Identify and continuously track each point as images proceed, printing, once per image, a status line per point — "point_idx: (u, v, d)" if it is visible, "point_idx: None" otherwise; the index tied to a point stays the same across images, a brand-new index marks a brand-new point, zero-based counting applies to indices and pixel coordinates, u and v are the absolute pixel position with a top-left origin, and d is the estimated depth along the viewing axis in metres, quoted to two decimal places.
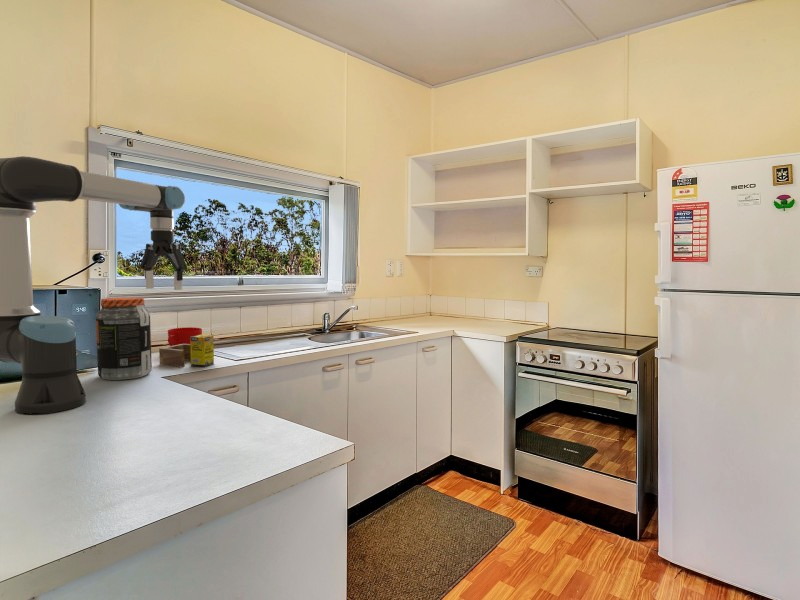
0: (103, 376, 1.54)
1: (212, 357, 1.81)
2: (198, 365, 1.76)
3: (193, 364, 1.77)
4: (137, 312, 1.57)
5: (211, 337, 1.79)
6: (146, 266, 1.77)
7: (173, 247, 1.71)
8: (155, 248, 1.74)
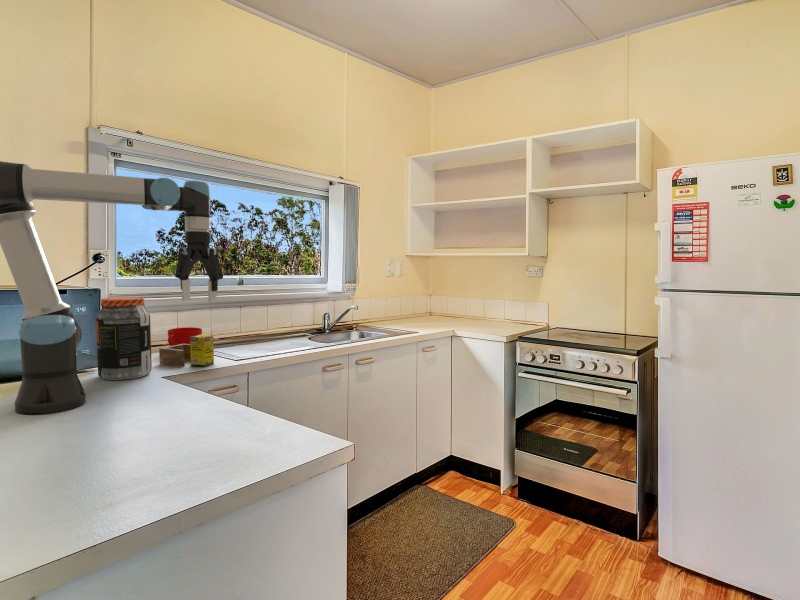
0: (103, 376, 1.54)
1: (212, 357, 1.81)
2: (198, 365, 1.76)
3: (193, 364, 1.77)
4: (137, 312, 1.57)
5: (211, 337, 1.79)
6: (182, 274, 1.56)
7: (211, 252, 1.51)
8: (190, 251, 1.53)
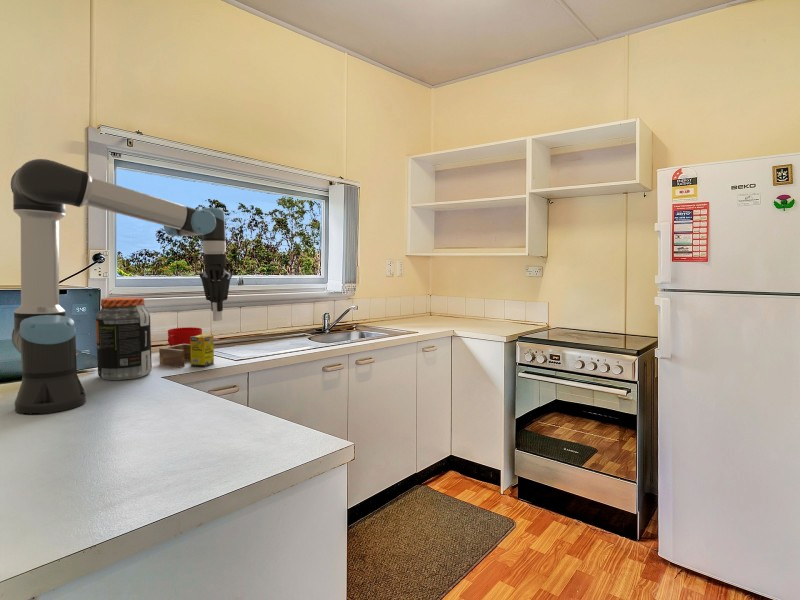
0: (103, 376, 1.54)
1: (212, 357, 1.81)
2: (198, 365, 1.76)
3: (193, 364, 1.77)
4: (137, 312, 1.57)
5: (211, 337, 1.79)
6: (211, 296, 1.70)
7: (225, 277, 1.66)
8: (208, 272, 1.68)
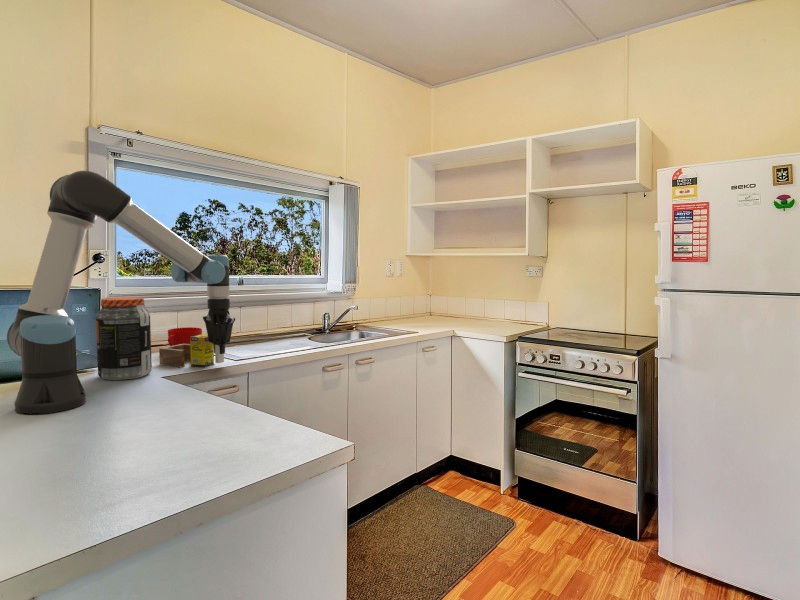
0: (103, 376, 1.54)
1: (212, 357, 1.81)
2: (198, 365, 1.76)
3: (193, 364, 1.77)
4: (137, 312, 1.57)
5: None
6: (214, 339, 1.75)
7: (228, 321, 1.72)
8: (212, 316, 1.74)
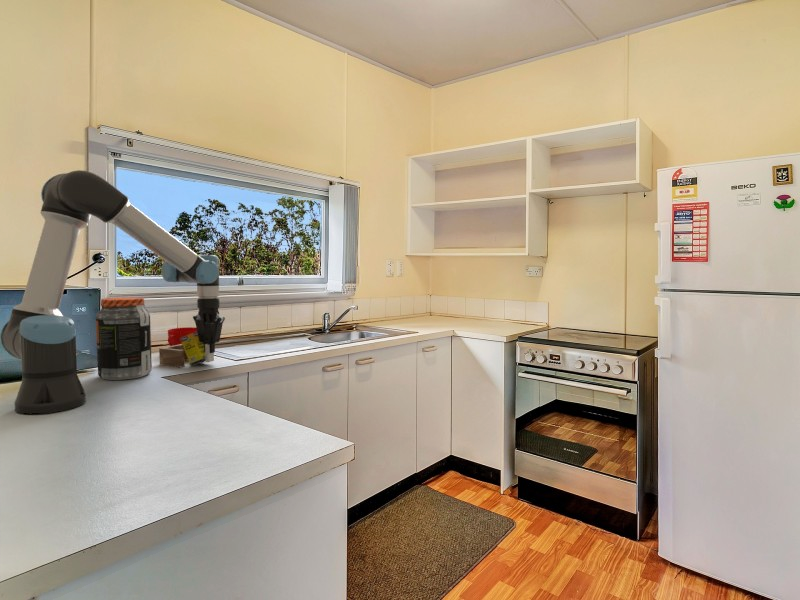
0: (103, 376, 1.54)
1: None
2: (197, 361, 1.76)
3: (192, 363, 1.77)
4: (137, 312, 1.57)
5: None
6: (204, 338, 1.77)
7: (217, 321, 1.74)
8: (202, 315, 1.75)
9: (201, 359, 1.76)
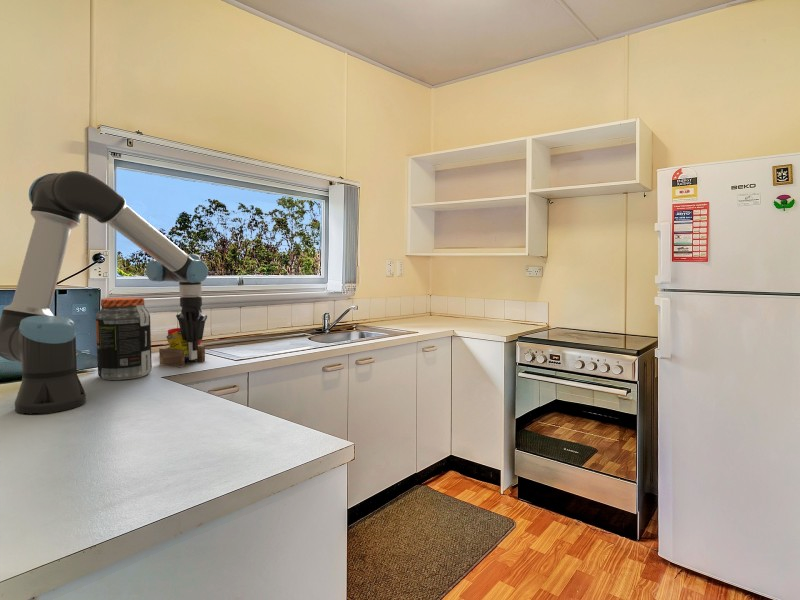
0: (103, 376, 1.54)
1: None
2: None
3: None
4: (137, 312, 1.57)
5: None
6: (187, 336, 1.80)
7: (200, 319, 1.77)
8: (184, 314, 1.78)
9: (184, 357, 1.79)
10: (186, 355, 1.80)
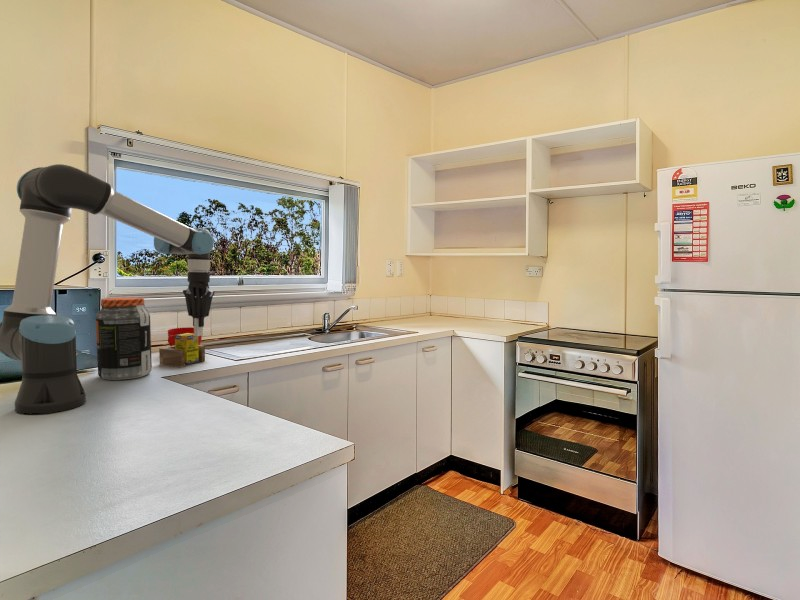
0: (103, 376, 1.54)
1: (197, 355, 1.83)
2: None
3: None
4: (137, 312, 1.57)
5: (195, 336, 1.82)
6: (193, 312, 1.77)
7: (207, 294, 1.74)
8: (192, 289, 1.76)
9: (185, 363, 1.79)
10: (188, 361, 1.79)
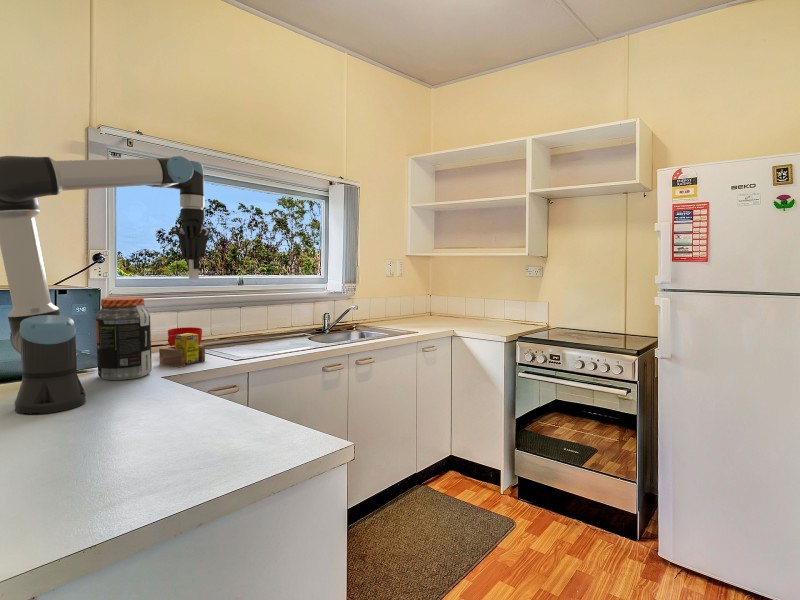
0: (103, 376, 1.54)
1: (197, 355, 1.83)
2: None
3: None
4: (137, 312, 1.57)
5: (195, 336, 1.82)
6: (187, 253, 1.64)
7: (202, 233, 1.61)
8: (185, 228, 1.62)
9: (185, 363, 1.79)
10: (188, 361, 1.79)
